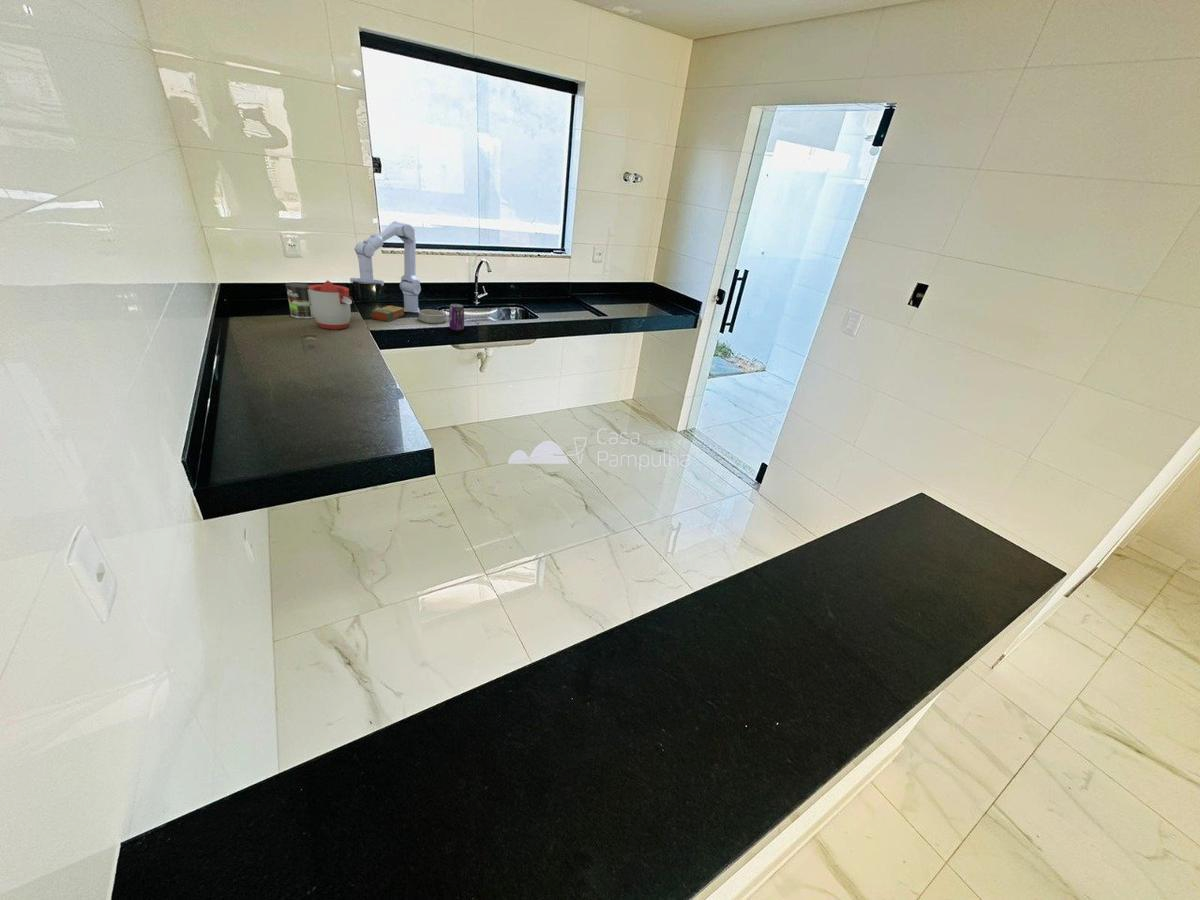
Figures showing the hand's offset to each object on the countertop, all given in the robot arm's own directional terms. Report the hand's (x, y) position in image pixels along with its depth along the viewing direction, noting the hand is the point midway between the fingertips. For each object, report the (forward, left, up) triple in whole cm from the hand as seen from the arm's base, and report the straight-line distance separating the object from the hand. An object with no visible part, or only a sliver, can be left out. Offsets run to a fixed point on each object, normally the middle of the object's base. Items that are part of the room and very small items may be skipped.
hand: (368, 299), depth 228 cm
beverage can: (+13, +41, -9) cm, 44 cm away
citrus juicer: (+22, -12, -9) cm, 27 cm away
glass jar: (+6, -28, -9) cm, 30 cm away
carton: (-2, +8, -9) cm, 12 cm away
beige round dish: (-2, +29, -9) cm, 31 cm away
